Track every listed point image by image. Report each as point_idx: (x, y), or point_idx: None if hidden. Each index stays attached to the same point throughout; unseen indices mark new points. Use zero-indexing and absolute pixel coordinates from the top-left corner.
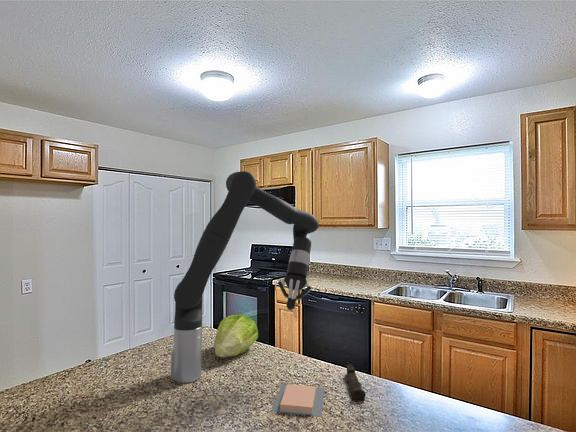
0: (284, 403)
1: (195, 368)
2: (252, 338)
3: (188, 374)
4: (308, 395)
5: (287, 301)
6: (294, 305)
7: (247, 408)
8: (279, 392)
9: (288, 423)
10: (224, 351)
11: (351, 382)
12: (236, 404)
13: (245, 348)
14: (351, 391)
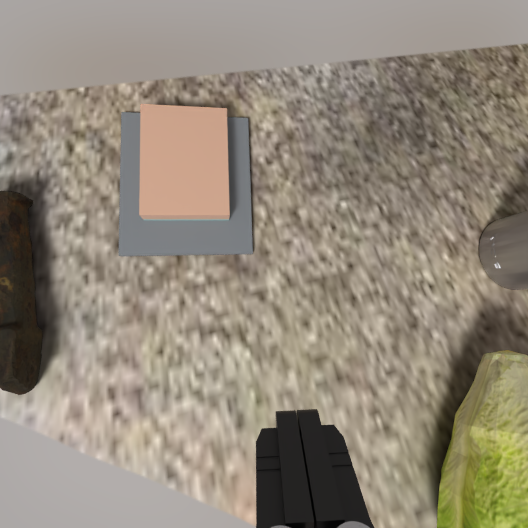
0: (216, 113)
1: (511, 227)
2: (452, 506)
3: (510, 217)
4: (157, 160)
5: (358, 485)
6: (258, 460)
7: (306, 134)
8: (248, 206)
9: (199, 89)
10: (494, 354)
11: (14, 254)
12: (337, 146)
13: (446, 463)
14: (28, 236)
